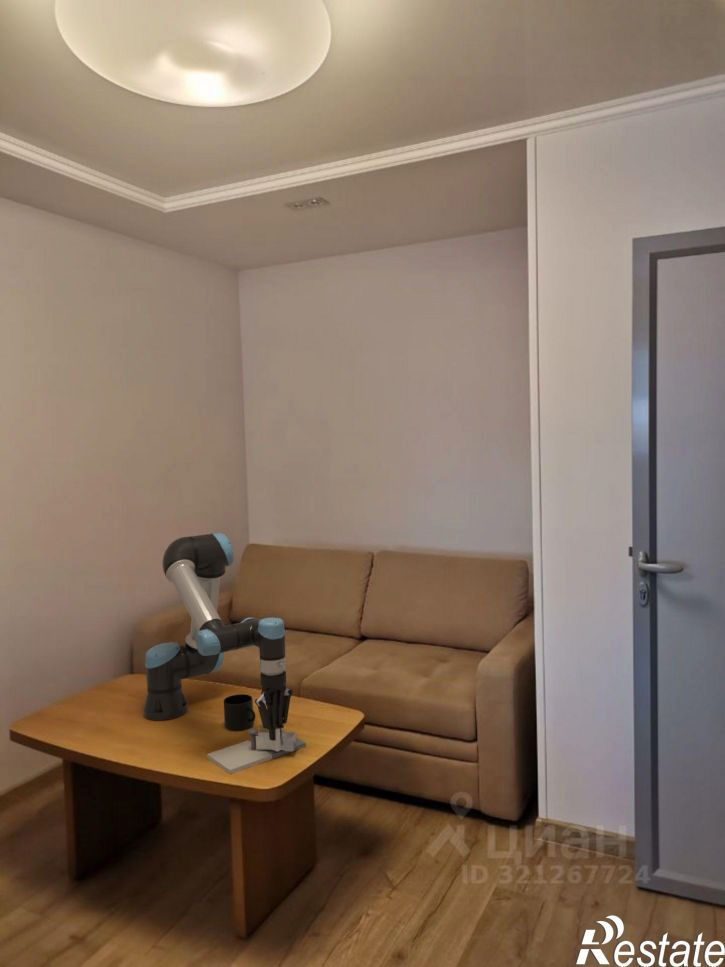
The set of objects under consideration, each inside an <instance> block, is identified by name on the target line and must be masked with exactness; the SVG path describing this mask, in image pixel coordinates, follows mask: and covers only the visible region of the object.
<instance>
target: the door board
mask: <svg viewBox="0 0 725 967" xmlns="http://www.w3.org/2000/svg"><path fill="white" fill-rule="evenodd" d="M258 732H259V728H256V727H253V728H252V727H251V728H249V729H247V734H248V735H250V739H248V740H245V741H242V742H238V743H236V744H233V745H230V746H227V747H224V748H221V749H218V750H215V751H212V752H209V753H207V754H206V758H207V759H208V760H209V761H210V762H212V763H214V764H215V765H216V766H218V768H220V769H222V770H224V771H225V772H226V773H228V774H229V775H232V774H234V773H238V772H240V771H243V770H245V769H248V768H251V767H253V766H256V765H259V764H261V763H264V762H268V761H270V760H272V759H275V758H278V757H281V756H283V755H287V754H289V753H291V752H295V751H298V750H299V749H302V748H305V747H306V742H305V741H303V740H302V739H299V738H298V737H296V747H295V748H294V750H293V751H284V750H280V751H275V750H265V749H256V735H257V734H258ZM287 732H288V731H287ZM287 732H286V731H285V730H283V729H282V733H287Z"/></svg>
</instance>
